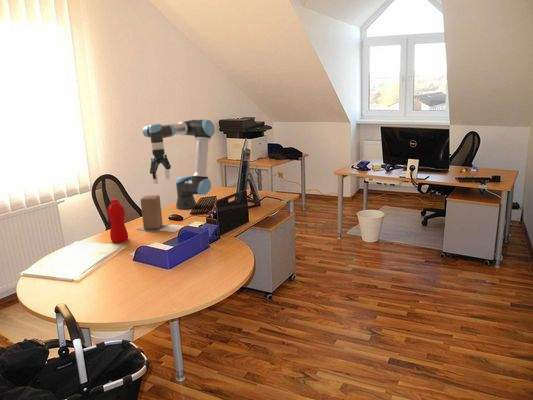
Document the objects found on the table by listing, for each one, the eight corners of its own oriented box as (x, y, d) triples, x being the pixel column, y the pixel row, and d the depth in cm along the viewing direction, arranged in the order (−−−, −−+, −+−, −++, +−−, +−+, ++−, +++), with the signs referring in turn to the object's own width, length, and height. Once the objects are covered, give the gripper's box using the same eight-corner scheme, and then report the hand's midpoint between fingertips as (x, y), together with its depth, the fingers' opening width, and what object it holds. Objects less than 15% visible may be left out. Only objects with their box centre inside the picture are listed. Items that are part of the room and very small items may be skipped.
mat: (171, 225, 288) (171, 224, 288) (186, 227, 282) (186, 226, 282) (159, 230, 278) (159, 229, 278) (173, 232, 272) (173, 231, 272)
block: (159, 229, 279) (155, 198, 274) (143, 230, 279) (139, 199, 274) (163, 224, 288) (159, 194, 284) (147, 225, 289) (144, 195, 284)
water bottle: (132, 240, 261) (127, 198, 255) (113, 244, 256) (107, 201, 250) (128, 236, 269) (123, 196, 263) (109, 240, 264) (104, 199, 258)
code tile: (153, 223, 293) (153, 223, 293) (169, 225, 286) (169, 225, 286) (137, 229, 281) (137, 229, 281) (154, 232, 275) (153, 231, 274)
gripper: (164, 145, 295) (167, 177, 300) (141, 152, 272) (145, 185, 278) (173, 145, 292) (177, 177, 298) (151, 152, 270) (155, 186, 275)
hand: (162, 181), depth 288 cm, fingers open, 13 cm apart
